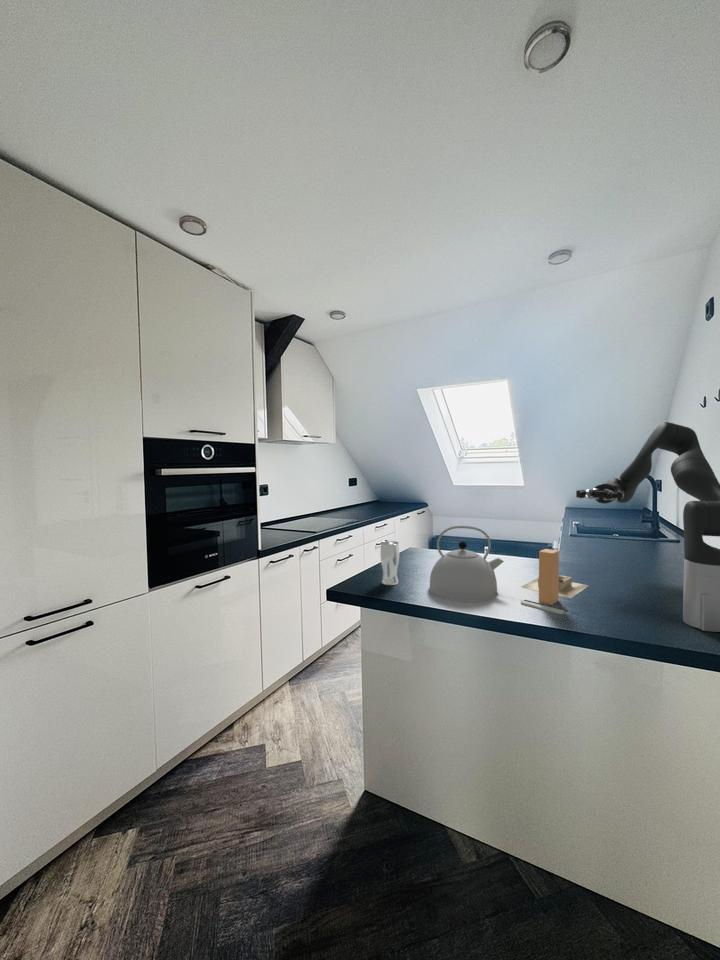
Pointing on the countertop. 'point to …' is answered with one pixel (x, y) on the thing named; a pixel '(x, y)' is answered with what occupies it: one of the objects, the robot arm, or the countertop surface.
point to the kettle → (464, 573)
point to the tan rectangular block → (548, 576)
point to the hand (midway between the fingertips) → (593, 495)
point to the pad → (544, 607)
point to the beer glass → (389, 562)
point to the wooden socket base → (560, 586)
